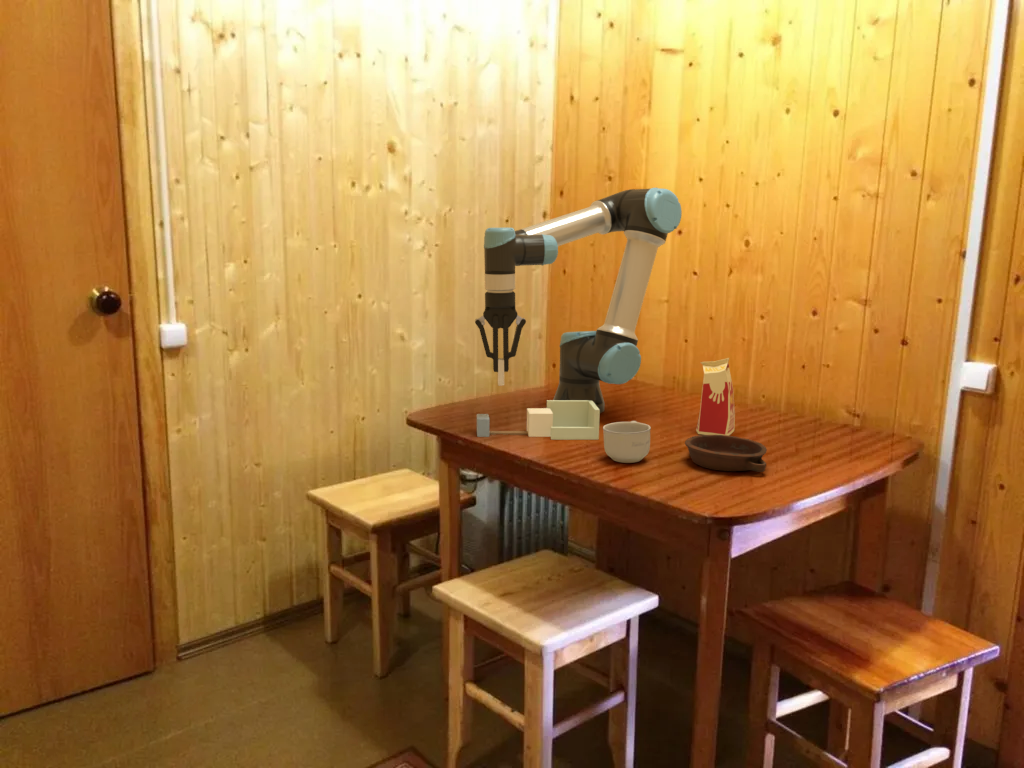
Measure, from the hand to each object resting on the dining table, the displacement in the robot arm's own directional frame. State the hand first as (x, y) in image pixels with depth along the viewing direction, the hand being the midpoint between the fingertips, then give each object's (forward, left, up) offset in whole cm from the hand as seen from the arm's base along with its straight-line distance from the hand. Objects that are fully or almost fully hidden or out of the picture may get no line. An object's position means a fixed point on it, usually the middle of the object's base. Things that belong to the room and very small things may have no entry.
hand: (501, 384), depth 205 cm
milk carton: (-56, -2, -13) cm, 58 cm away
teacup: (-28, +22, -13) cm, 38 cm away
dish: (-49, +27, -13) cm, 58 cm away
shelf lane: (-18, 0, -13) cm, 22 cm away
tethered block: (-4, 0, -13) cm, 13 cm away
